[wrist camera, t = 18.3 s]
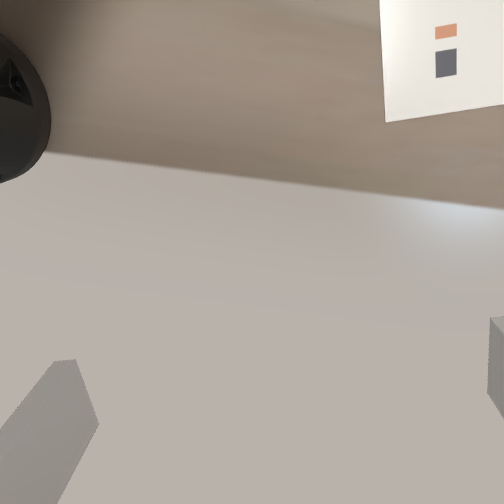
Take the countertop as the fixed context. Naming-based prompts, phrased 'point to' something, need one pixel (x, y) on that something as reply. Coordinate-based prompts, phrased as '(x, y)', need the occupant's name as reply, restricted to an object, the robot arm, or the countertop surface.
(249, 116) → the countertop surface
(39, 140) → the robot arm
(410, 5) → the white tile
